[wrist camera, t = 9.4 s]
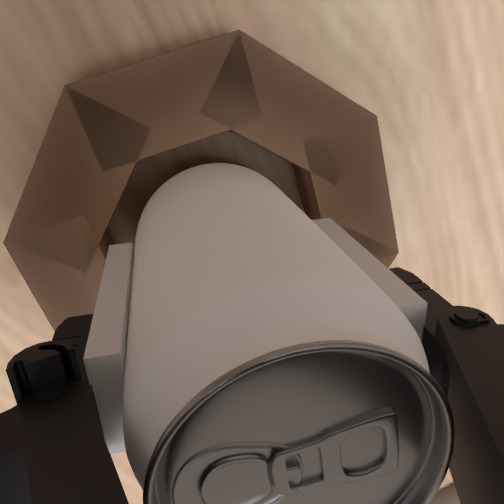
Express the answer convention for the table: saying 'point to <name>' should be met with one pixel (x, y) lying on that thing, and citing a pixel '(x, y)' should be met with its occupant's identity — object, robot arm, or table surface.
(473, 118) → the table surface
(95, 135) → the brown octagonal frame
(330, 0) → the table surface
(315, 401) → the can
